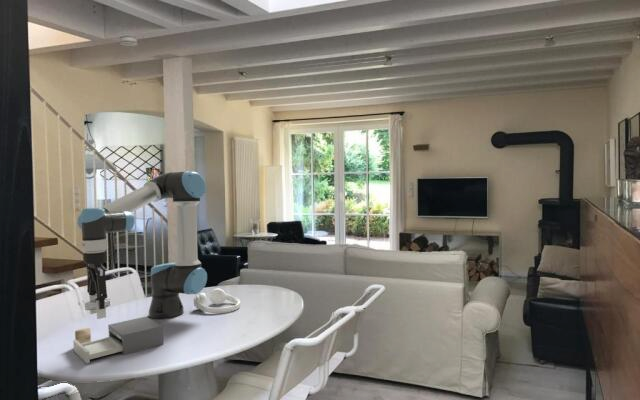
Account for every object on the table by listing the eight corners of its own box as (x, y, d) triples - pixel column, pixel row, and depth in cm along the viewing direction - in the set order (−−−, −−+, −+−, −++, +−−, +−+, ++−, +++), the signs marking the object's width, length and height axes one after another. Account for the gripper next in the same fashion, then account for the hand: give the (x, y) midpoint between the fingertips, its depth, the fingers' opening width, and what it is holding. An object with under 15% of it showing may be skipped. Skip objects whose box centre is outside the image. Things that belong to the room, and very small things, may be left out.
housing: (146, 333, 179) (145, 316, 179) (163, 344, 167) (162, 325, 166) (108, 343, 170) (107, 324, 170) (123, 355, 157) (122, 335, 157)
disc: (106, 303, 165) (106, 297, 165) (113, 306, 159) (112, 300, 159) (82, 308, 160) (82, 302, 160) (88, 311, 154) (87, 305, 154)
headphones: (188, 310, 211) (219, 320, 201) (189, 293, 210) (220, 303, 200) (218, 300, 228) (249, 309, 217) (219, 285, 227) (249, 293, 216)
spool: (74, 346, 168) (73, 330, 168) (89, 342, 171) (88, 327, 171) (77, 349, 164) (76, 333, 164) (92, 346, 167) (91, 330, 167)
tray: (114, 340, 171) (113, 330, 171) (129, 352, 159) (128, 341, 159) (73, 350, 162) (73, 340, 162) (86, 363, 150) (85, 352, 149)
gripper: (75, 250, 164) (78, 312, 165) (91, 255, 149) (94, 324, 149) (97, 247, 169) (100, 307, 170) (115, 252, 154) (118, 319, 154)
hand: (98, 315), depth 160 cm, fingers closed on disc, 8 cm apart
